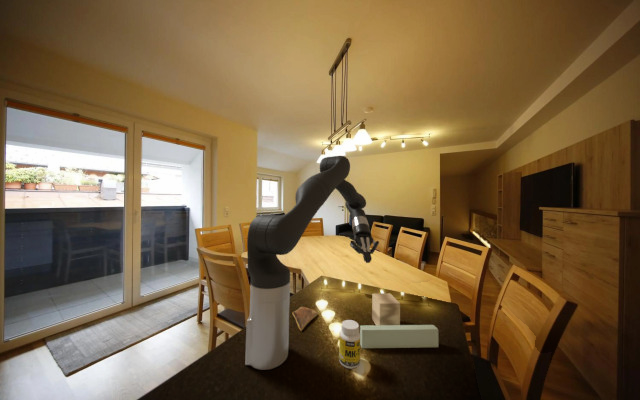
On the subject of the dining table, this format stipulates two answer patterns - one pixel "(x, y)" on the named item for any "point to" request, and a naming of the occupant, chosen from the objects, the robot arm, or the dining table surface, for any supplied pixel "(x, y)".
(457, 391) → the dining table surface
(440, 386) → the dining table surface
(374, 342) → the sage fence board
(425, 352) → the dining table surface
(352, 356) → the supplement bottle
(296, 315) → the shard
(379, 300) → the birch block
